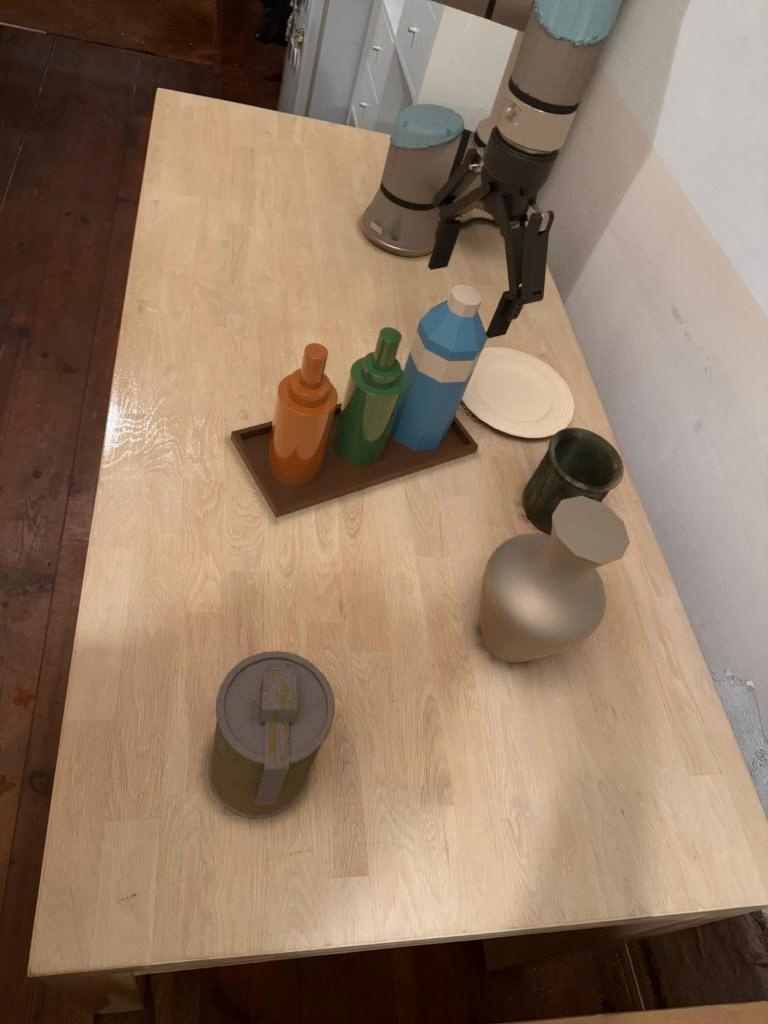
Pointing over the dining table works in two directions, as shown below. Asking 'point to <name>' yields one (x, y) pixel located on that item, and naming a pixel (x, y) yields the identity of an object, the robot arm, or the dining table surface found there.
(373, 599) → the dining table surface
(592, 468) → the mug
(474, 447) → the tray
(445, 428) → the water bottle
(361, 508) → the dining table surface
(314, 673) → the canister
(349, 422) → the green bottle
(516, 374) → the plate
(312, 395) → the amber bottle
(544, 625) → the vase
